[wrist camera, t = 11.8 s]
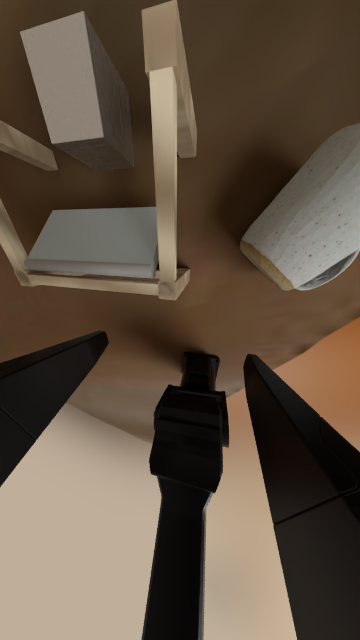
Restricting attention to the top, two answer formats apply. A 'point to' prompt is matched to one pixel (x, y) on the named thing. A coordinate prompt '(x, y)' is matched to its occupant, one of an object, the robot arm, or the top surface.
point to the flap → (98, 242)
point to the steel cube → (80, 93)
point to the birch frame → (168, 138)
